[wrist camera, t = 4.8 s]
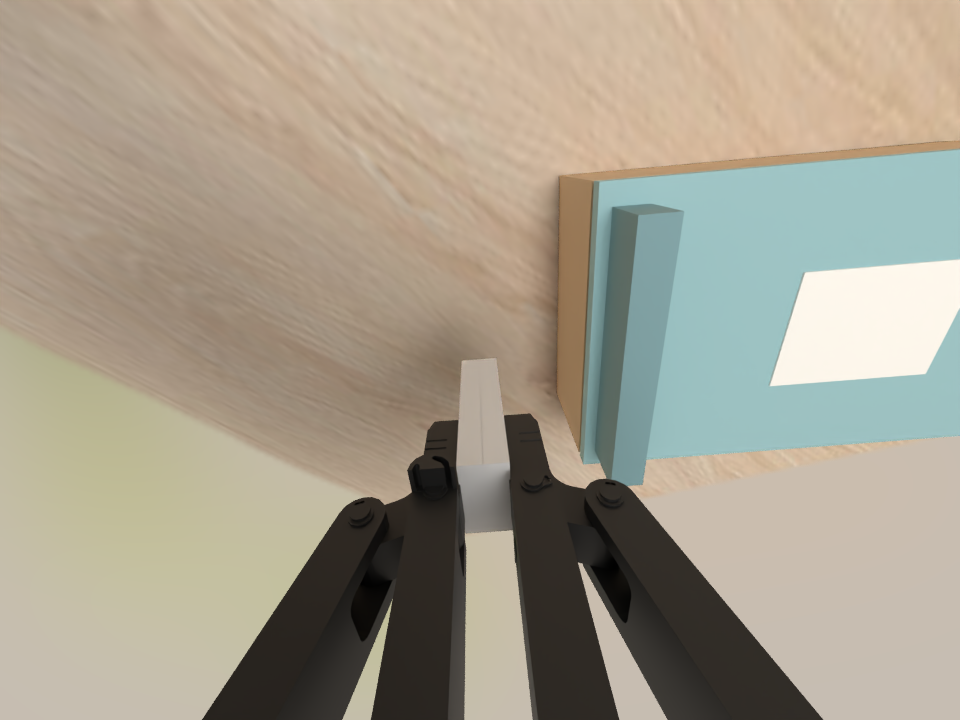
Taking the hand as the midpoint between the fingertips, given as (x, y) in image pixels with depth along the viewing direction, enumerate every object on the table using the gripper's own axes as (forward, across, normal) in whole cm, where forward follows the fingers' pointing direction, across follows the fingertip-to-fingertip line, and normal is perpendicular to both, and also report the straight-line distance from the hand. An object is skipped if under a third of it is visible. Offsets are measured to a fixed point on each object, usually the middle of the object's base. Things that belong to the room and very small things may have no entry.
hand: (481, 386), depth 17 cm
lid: (+3, +16, 0) cm, 17 cm away
